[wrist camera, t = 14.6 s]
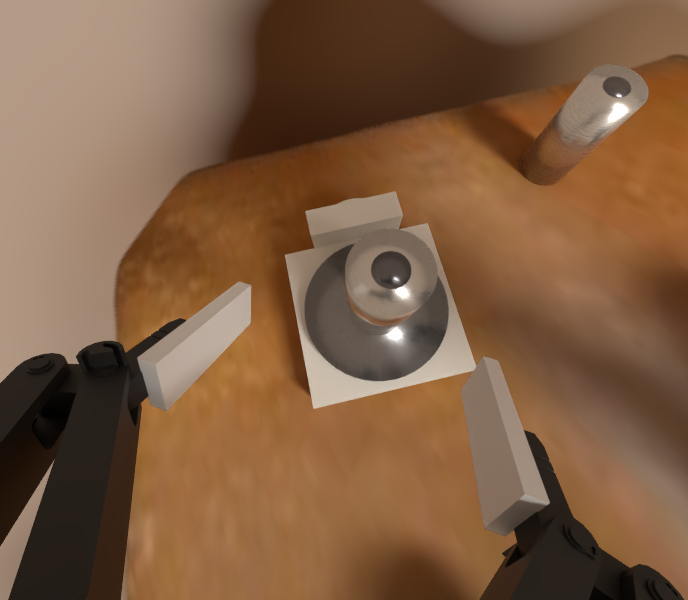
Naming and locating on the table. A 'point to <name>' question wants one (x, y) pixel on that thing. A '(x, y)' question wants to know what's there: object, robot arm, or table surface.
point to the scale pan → (363, 349)
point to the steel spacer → (584, 122)
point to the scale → (328, 237)
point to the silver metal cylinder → (388, 279)
